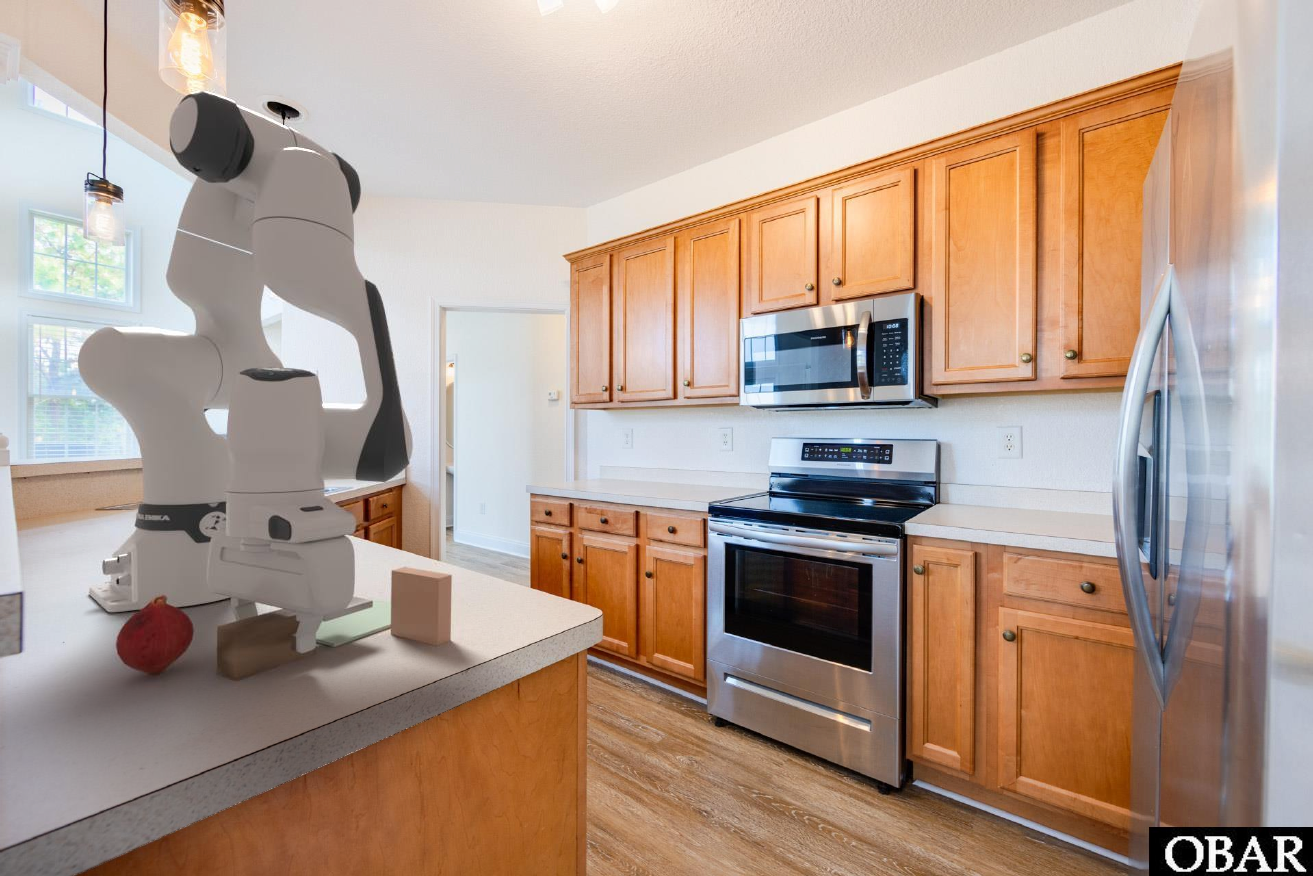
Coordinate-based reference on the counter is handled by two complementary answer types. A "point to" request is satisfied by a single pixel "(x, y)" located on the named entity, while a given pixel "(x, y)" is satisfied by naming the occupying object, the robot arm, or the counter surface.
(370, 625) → the plate
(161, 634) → the onion
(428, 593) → the tile
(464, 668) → the counter surface
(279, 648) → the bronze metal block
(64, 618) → the counter surface
